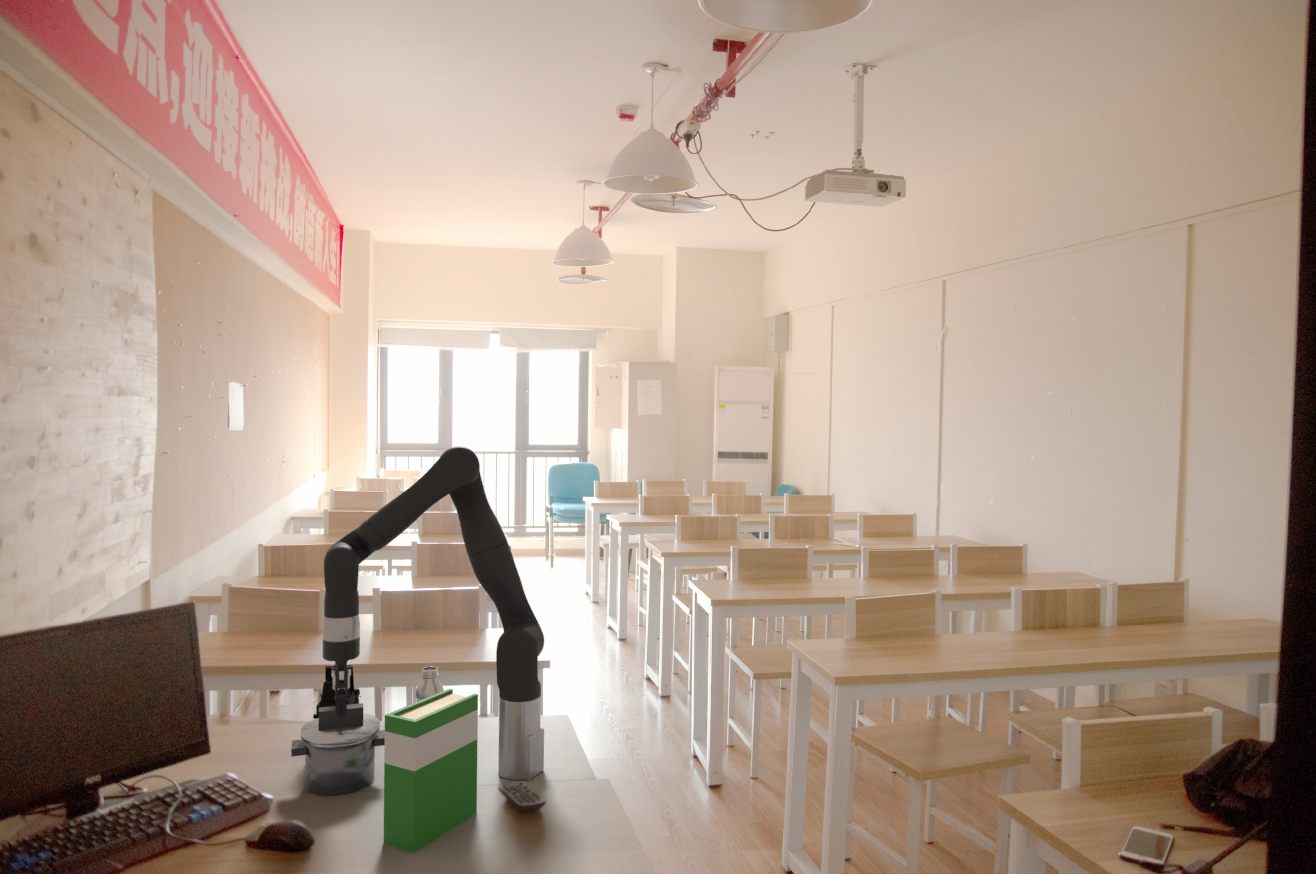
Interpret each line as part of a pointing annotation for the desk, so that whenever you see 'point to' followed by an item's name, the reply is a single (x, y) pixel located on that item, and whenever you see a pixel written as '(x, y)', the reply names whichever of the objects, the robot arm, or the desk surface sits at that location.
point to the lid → (340, 727)
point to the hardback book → (429, 769)
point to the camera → (329, 693)
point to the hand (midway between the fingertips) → (340, 710)
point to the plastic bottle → (428, 684)
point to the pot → (338, 765)
